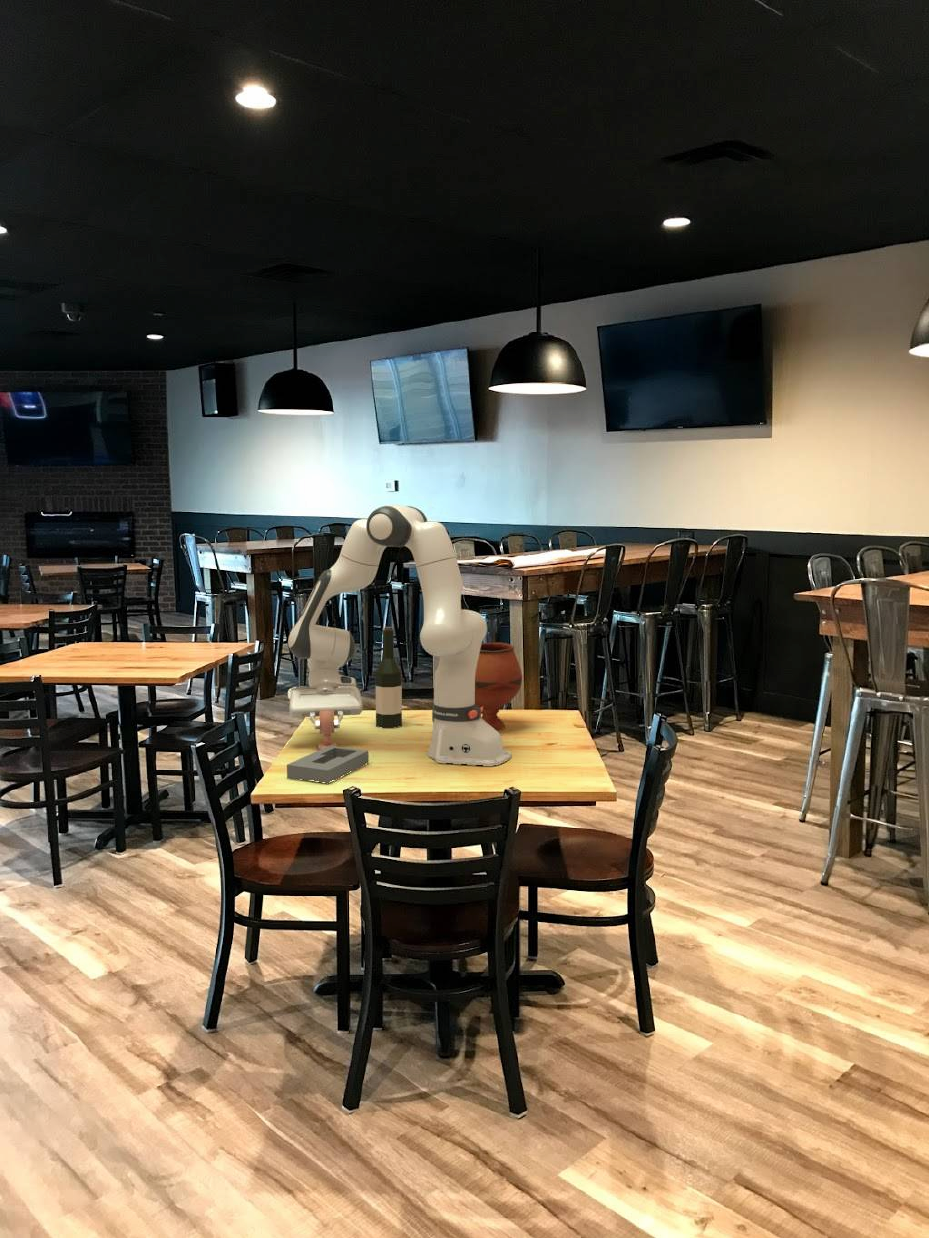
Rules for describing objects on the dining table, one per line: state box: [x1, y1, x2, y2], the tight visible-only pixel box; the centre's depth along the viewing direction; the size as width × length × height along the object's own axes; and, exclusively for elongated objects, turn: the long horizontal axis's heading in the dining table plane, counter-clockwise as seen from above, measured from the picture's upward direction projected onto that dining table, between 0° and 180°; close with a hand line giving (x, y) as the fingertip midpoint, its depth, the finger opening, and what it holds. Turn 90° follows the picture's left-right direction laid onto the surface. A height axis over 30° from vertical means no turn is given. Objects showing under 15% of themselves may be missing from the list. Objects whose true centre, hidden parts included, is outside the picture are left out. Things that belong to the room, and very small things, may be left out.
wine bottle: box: [374, 626, 403, 729], centre depth 304 cm, size 8×8×30 cm
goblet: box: [475, 642, 523, 731], centre depth 302 cm, size 19×19×25 cm
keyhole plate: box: [286, 745, 370, 783], centre depth 258 cm, size 20×12×4 cm, turn 156°
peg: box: [317, 710, 337, 751], centre depth 278 cm, size 5×5×11 cm
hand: (327, 727), depth 277 cm, fingers closed on peg, 4 cm apart
